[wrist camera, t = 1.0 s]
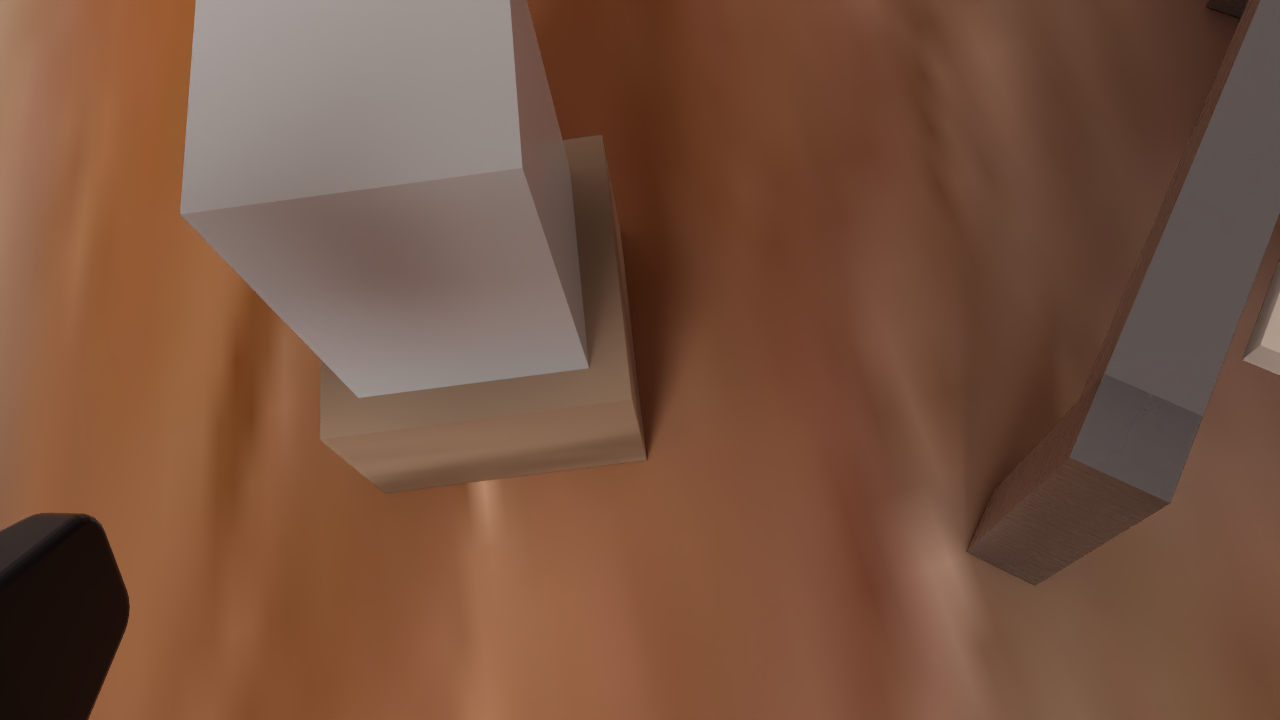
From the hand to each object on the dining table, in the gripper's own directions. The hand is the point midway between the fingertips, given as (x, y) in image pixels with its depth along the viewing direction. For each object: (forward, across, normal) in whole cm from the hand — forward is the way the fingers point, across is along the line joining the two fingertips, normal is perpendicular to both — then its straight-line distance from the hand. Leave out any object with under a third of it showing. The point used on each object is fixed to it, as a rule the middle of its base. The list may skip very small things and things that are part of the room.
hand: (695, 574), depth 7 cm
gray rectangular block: (+13, +5, +4) cm, 14 cm away
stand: (+15, +5, +7) cm, 17 cm away
